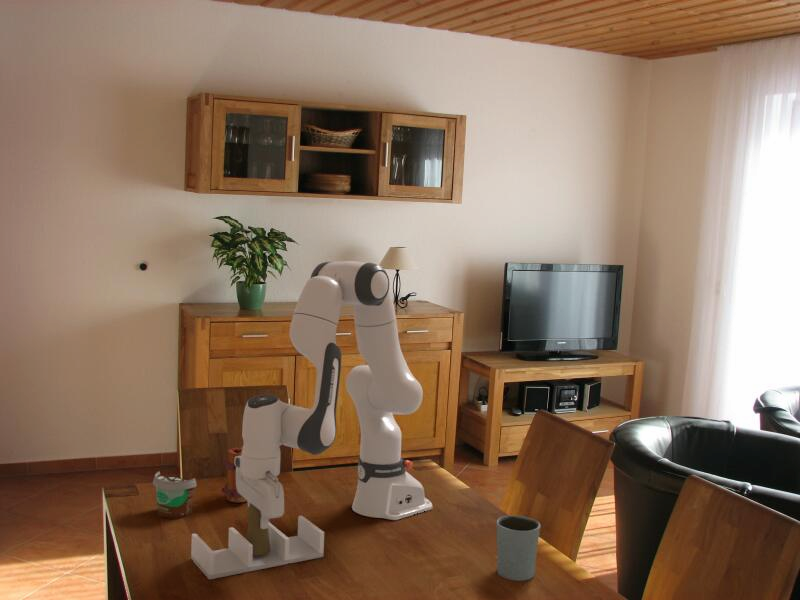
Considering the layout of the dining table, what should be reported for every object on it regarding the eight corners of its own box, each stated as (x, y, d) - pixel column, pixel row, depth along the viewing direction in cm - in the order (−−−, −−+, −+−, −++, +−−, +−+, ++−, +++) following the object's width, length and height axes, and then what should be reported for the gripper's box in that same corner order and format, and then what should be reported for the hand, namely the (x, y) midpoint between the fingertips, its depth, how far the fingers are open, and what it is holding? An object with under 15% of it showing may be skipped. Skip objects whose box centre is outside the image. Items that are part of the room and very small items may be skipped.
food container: (142, 514, 228) (142, 477, 226) (157, 507, 233) (157, 471, 232) (181, 523, 223) (182, 485, 222) (196, 515, 229) (196, 478, 228)
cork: (275, 548, 205) (277, 503, 204) (260, 557, 200) (261, 511, 199) (254, 543, 208) (255, 498, 207) (238, 551, 202) (240, 505, 201)
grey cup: (507, 584, 196) (510, 533, 195) (485, 566, 206) (488, 517, 204) (545, 578, 200) (549, 528, 199) (522, 561, 210) (525, 512, 208)
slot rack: (301, 538, 217) (302, 515, 216) (323, 556, 207) (324, 532, 206) (191, 559, 202) (191, 534, 201) (209, 579, 192) (209, 553, 191)
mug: (245, 507, 236) (247, 453, 234) (217, 504, 238) (218, 450, 236) (264, 490, 250) (266, 439, 249) (237, 487, 252) (239, 436, 250)
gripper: (292, 477, 195) (290, 537, 196) (256, 452, 212) (254, 507, 213) (266, 481, 191) (263, 541, 193) (231, 455, 208) (229, 511, 210)
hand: (258, 523), depth 203 cm, fingers closed on cork, 4 cm apart
